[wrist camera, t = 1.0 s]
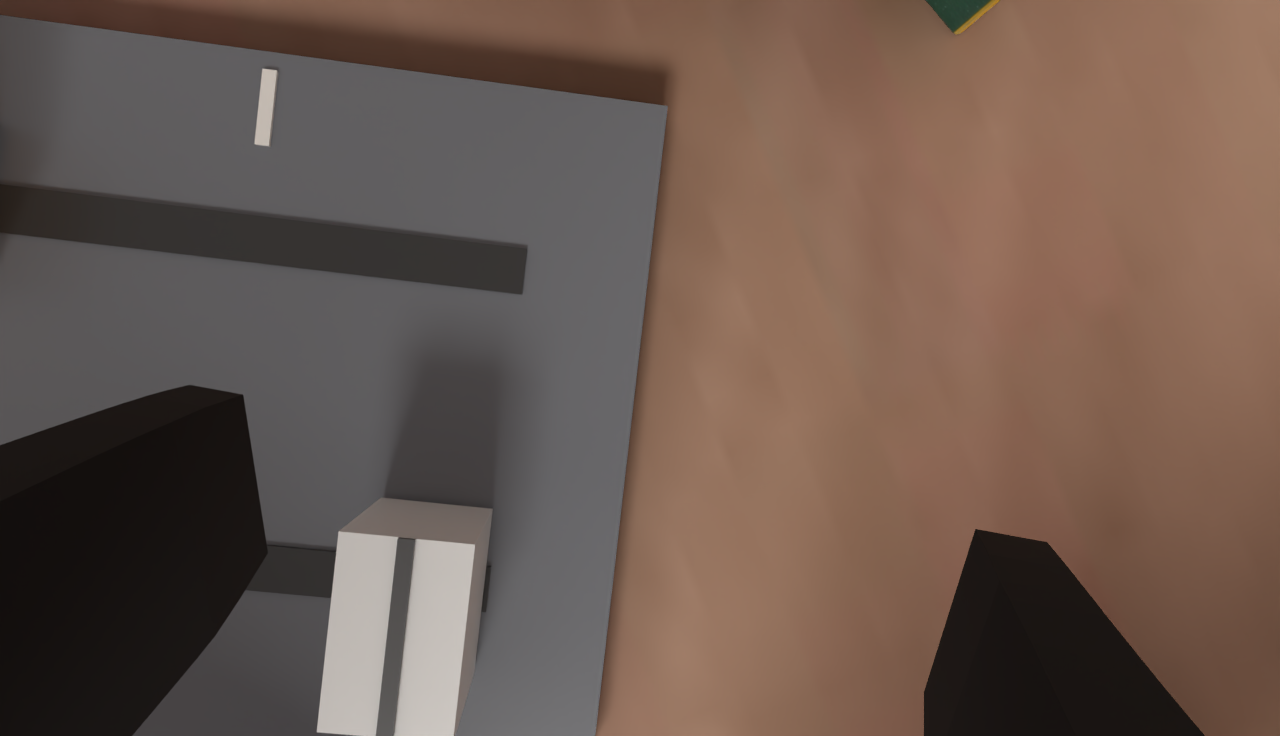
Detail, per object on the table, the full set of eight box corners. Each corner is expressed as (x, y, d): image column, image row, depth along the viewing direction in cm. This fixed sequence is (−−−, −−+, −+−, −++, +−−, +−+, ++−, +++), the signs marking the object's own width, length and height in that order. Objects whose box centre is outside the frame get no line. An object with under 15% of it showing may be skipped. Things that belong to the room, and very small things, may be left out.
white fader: (474, 671, 20) (452, 746, 16) (362, 662, 19) (315, 734, 16) (492, 508, 20) (474, 546, 16) (381, 497, 19) (337, 532, 16)
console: (589, 752, 21) (590, 779, 20) (-317, 679, 20) (-380, 703, 18) (662, 119, 21) (668, 104, 20) (-251, -5, 19) (-311, -29, 18)
